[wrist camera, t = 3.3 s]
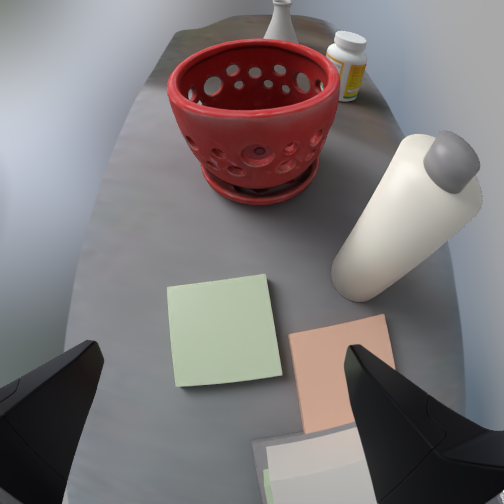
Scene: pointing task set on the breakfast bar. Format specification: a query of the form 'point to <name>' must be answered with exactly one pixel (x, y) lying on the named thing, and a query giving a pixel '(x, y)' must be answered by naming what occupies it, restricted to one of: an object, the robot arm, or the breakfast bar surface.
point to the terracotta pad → (332, 368)
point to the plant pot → (256, 117)
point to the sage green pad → (222, 331)
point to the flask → (281, 23)
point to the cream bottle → (409, 214)
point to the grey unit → (314, 468)
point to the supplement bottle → (348, 62)
